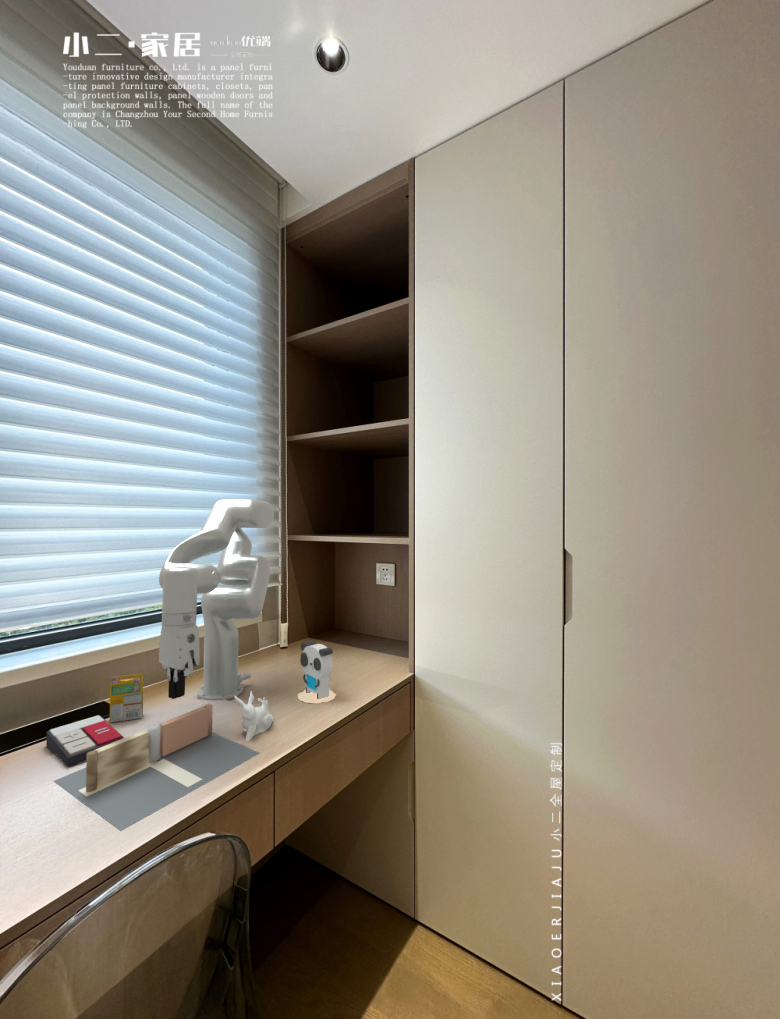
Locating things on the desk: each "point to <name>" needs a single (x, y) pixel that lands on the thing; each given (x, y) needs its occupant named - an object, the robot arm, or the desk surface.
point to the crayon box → (126, 698)
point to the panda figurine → (316, 667)
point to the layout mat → (158, 780)
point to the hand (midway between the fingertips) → (176, 696)
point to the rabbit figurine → (254, 716)
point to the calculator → (80, 739)
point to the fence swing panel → (179, 732)
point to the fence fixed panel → (116, 760)
